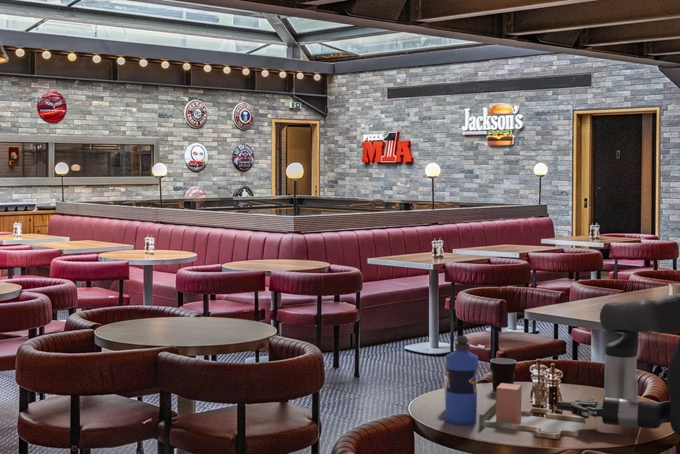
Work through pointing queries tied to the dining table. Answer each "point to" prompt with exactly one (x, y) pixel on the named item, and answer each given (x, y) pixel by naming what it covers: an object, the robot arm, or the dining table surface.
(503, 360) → the coffee mug
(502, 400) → the pink rectangular block
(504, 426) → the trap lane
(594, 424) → the dining table surface
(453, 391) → the water bottle
